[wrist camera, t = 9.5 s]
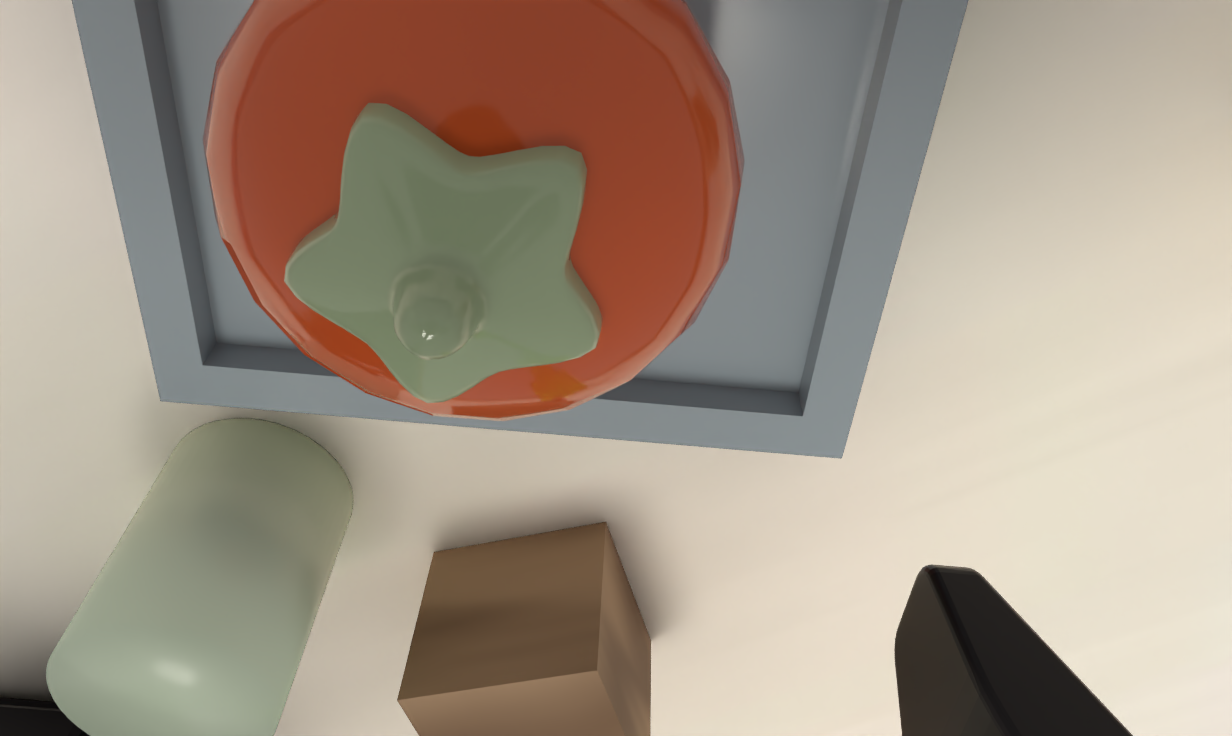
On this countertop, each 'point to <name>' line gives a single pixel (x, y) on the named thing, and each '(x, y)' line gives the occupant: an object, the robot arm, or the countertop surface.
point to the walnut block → (529, 641)
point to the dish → (737, 306)
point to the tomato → (475, 190)
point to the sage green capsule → (208, 589)
